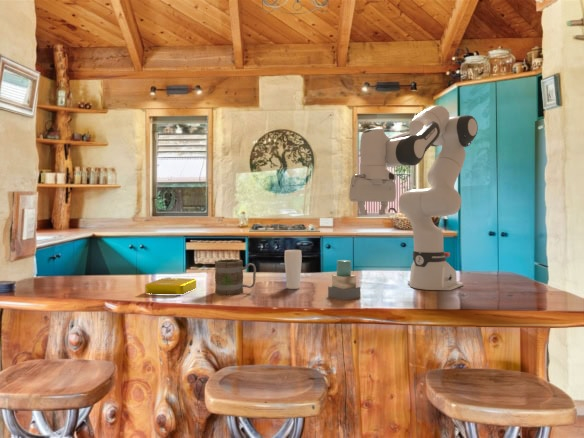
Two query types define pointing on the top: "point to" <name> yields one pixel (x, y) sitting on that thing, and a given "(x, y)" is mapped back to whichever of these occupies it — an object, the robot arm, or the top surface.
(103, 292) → the top surface
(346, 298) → the tower base
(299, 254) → the drinking glass
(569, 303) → the top surface
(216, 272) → the mug
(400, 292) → the top surface
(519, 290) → the top surface
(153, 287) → the element tile
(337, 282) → the tower top
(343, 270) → the teal cylinder
